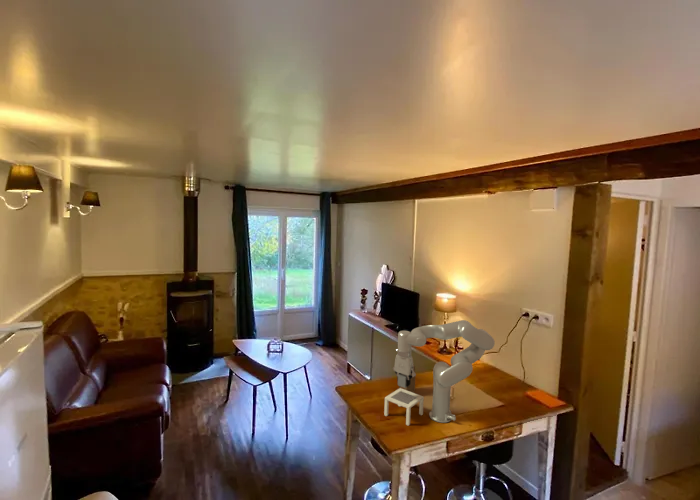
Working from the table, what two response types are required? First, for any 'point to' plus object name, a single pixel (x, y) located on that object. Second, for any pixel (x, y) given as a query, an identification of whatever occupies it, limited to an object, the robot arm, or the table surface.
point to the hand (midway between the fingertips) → (403, 383)
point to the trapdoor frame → (408, 406)
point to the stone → (402, 380)
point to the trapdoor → (404, 397)
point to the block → (412, 386)
